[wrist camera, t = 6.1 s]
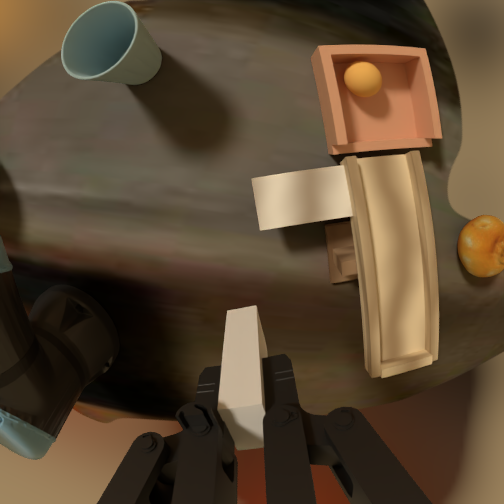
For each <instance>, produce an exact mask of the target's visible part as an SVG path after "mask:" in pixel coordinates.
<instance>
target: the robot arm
mask: <svg viewBox="0 0 504 504" xmlns="http://www.w3.org/2000/svg"><path fill="white" fill-rule="evenodd" d="M12 268H13V267H12V264H11V263H10V262H9V260H8V257H7V254H6V251H5V247H4V244H3V241H2V238H1V235H0V444H2V445H3V446H5V447H6V448H8V449H9V450H11V451H13V452H14V453H17V454H18V455H20V456H23V457H25V458H28V459H33V460H37V459H40V458H42V457H44V455H45V454H46V453H47V451H48V449H49V448H50V446H51V445H52V443H54V442H55V441H56V438H57V436H58V434H59V432H60V430H61V429H62V427H63V425H64V423H65V421H66V419H67V417H68V415H69V414H70V412H71V410H72V408H73V406H74V405H75V403H76V401H77V399H78V397H79V396H80V394H81V392H82V390H83V389H84V387H85V386H86V385H87V384H89V383H90V382H92V381H93V380H95V379H96V378H97V377H99V376H100V375H102V374H103V373H105V372H106V371H107V370H108V369H109V368H110V367H111V366H112V364H113V362H114V361H115V359H116V357H117V355H118V353H119V347H120V342H119V336H118V332H117V329H116V327H115V325H114V323H113V321H112V319H111V318H110V316H109V315H108V313H107V312H106V310H105V309H104V308H103V307H102V306H101V305H100V304H99V303H98V302H97V301H96V300H95V299H94V298H93V297H91V296H90V295H89V294H87V293H86V292H84V291H82V290H80V289H78V288H76V287H73V286H69V285H55V286H52V287H50V288H48V289H47V290H46V291H45V292H44V293H42V294H41V295H40V296H39V297H38V299H37V300H36V302H35V304H34V306H33V308H32V310H31V312H30V314H29V317H28V316H27V313H26V311H25V308H24V306H23V303H22V301H21V298H20V295H19V292H18V289H17V286H16V283H15V280H14V277H13V273H12ZM175 417H176V419H177V420H178V422H179V423H180V425H181V427H182V428H183V431H181V432H179V433H177V434H174V435H170V436H167V437H164V438H163V437H162V436H161V435H160V434H158V433H155V432H147V433H144V434H142V435H140V436H138V437H137V438H136V440H135V441H134V442H133V443H132V445H131V447H130V449H129V450H128V452H127V454H126V455H125V457H124V459H123V461H122V462H121V464H120V466H119V467H118V469H117V471H116V473H115V474H114V476H113V478H112V479H111V481H110V483H109V484H108V486H107V488H106V489H105V491H104V493H103V494H102V496H101V498H100V500H99V501H98V503H97V504H237V466H238V465H237V464H238V462H237V458H236V456H235V454H234V445H235V446H236V448H237V450H246V449H255V448H262V447H264V460H265V479H266V495H267V496H266V497H267V504H317V503H316V497H315V491H314V485H313V479H312V473H311V467H310V464H313V465H328V466H329V467H330V469H331V471H332V473H333V474H334V476H335V477H336V479H337V481H338V483H339V485H340V486H341V488H342V490H343V491H344V493H345V495H346V496H347V498H348V500H349V502H350V503H351V504H432V503H431V501H430V500H429V499H428V498H427V497H426V495H425V494H424V493H423V491H422V490H421V489H420V488H419V486H418V485H417V484H416V482H415V481H414V480H413V479H412V477H411V476H410V475H409V474H408V472H407V471H406V470H405V468H404V467H403V466H402V465H401V463H400V462H399V461H398V460H397V458H396V457H395V456H394V454H393V453H392V452H391V450H390V449H389V448H388V447H387V445H386V444H385V443H384V441H383V440H382V439H381V438H380V436H379V435H378V434H377V433H376V431H375V430H374V429H373V427H372V426H371V425H370V423H369V422H368V421H367V420H366V418H365V417H364V416H363V415H362V413H361V412H360V411H358V410H357V409H355V408H352V407H341V408H337V409H334V410H333V411H331V412H330V413H329V414H328V415H327V416H324V415H312V414H310V413H307V412H306V411H304V410H303V409H302V408H301V407H300V404H299V400H298V394H297V389H296V384H295V378H294V373H293V368H292V363H291V360H290V359H289V358H288V357H287V356H286V355H285V354H281V355H276V356H271V357H268V356H267V347H266V343H265V338H264V334H263V330H262V326H261V322H260V318H259V314H258V310H257V306H256V305H255V306H250V307H245V308H240V309H235V310H229V311H227V318H226V327H225V337H224V347H223V357H222V365H221V366H214V367H207V368H205V369H204V370H203V372H202V373H201V375H200V376H199V382H198V388H197V393H196V399H195V402H191V403H187V404H186V405H184V406H182V407H181V408H180V409H179V410H178V411H177V413H176V415H175Z"/></svg>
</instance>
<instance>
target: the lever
mask: <svg viewBox="0 0 504 504" xmlns="http://www.w3.org/2000/svg"><path fill="white" fill-rule="evenodd" d="M252 185H253V191H254V197H255V202H256V208H257V214H258V220H259V226H260V231H261V230H267V229H273V228H279V227H286V226H292V225H298V224H304V223H311V222H317V221H324V220H330V219H337V218H343V217H350V221H351V227H352V234H353V241H354V248H355V255H356V263H357V271H358V280H359V290H360V300H361V311H362V324H363V338H364V357H365V369H366V370H367V372H368V373H369V375H370V376H371V378H375V377H379V376H381V377H382V378H385V377H389V376H393V375H396V374H400V373H403V372H407V371H410V370H414V369H417V368H420V367H423V366H427V365H430V364H432V361H435V360H438V341H439V296H438V274H437V260H436V249H435V239H434V231H433V223H432V216H431V209H430V203H429V197H428V191H427V185H426V180H425V175H424V170H423V166H422V161H421V157H420V152H419V151H410V152H408V153H406V154H402V155H390V156H378V157H368V158H358V159H357V158H356V156H348V157H345V158H344V159H343V160H342V161H341V162H340V166H332V167H325V168H317V169H310V170H303V171H296V172H289V173H283V174H276V175H270V176H264V177H258V178H252Z"/></svg>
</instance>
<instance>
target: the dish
mask: <svg viewBox="0 0 504 504" xmlns="http://www.w3.org/2000/svg"><path fill="white" fill-rule="evenodd" d="M356 61H366V62H369V63H371V64H373V65H374V66H375V67H376V68H377V69H378V70H379V72H380V74H381V76H382V86H381V88H380V90H379V91H378V92H377V93H376V94H375V95H373V96H370V97H360V96H357V95H355V94H353V93H352V92H351V91H350V90H349V89H348V88H347V87H346V85H345V82H344V72H345V70H346V68H347V67H348V66H349V65H350V64H351V63H353V62H356ZM311 62H312V66H313V71H314V76H315V80H316V85H317V90H318V95H319V100H320V105H321V111H322V116H323V122H324V128H325V134H326V140H327V146H328V153H329V154H333V155H334V154H343V153H353V152H363V151H373V150H385V149H399V148H415V147H432V139H431V138H442V133H441V125H440V118H439V111H438V105H437V99H436V94H435V88H434V83H433V78H432V74H431V69H430V65H429V61H428V57H427V53H426V49H424V48H414V47H402V46H386V45H326V46H318V47H317V49H316V50H315V52H314V53H313V55H312V57H311Z"/></svg>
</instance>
